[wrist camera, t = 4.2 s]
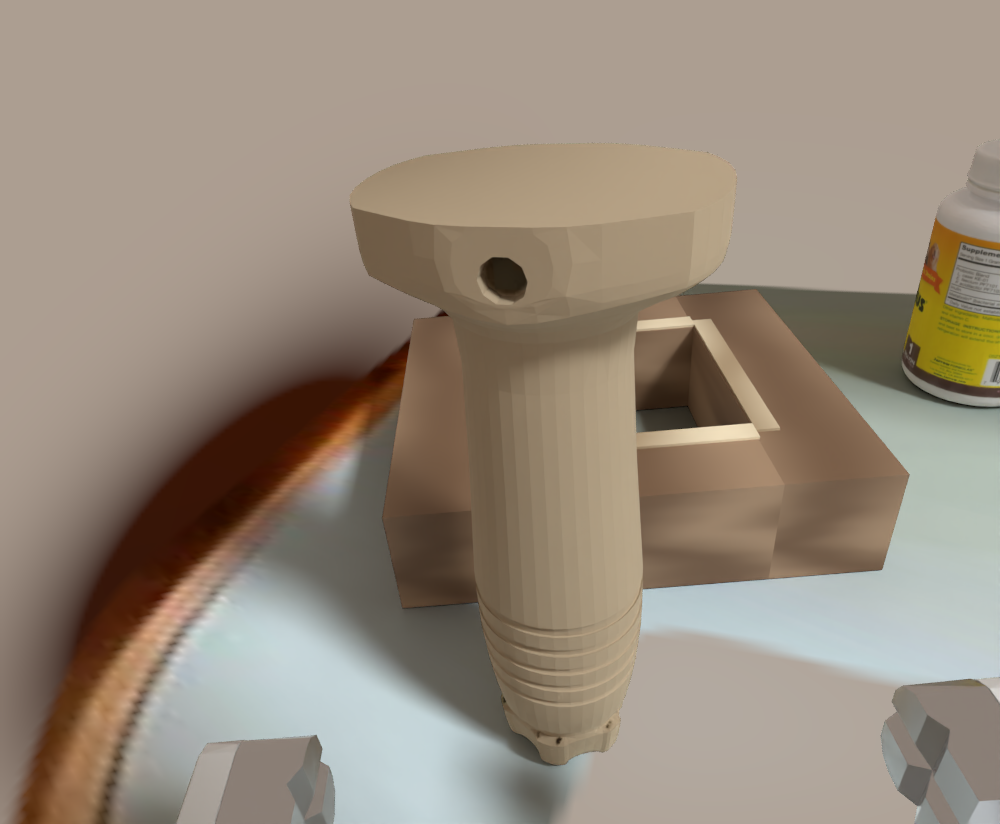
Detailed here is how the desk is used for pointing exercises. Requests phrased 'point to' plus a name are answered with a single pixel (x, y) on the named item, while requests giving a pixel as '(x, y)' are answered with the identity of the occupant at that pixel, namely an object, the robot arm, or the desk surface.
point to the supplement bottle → (961, 293)
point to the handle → (551, 387)
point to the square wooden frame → (671, 458)
